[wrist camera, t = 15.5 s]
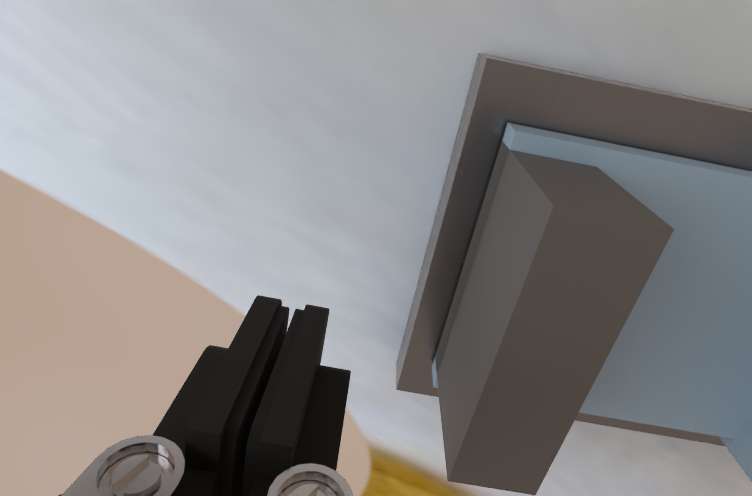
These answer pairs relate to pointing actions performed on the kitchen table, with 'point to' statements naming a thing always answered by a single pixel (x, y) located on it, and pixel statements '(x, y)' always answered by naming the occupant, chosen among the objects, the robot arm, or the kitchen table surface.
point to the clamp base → (562, 115)
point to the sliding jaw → (596, 305)
